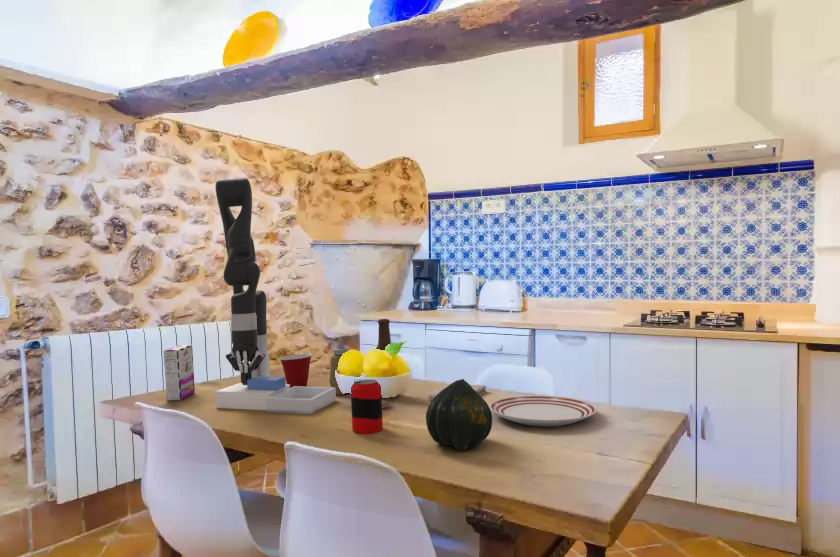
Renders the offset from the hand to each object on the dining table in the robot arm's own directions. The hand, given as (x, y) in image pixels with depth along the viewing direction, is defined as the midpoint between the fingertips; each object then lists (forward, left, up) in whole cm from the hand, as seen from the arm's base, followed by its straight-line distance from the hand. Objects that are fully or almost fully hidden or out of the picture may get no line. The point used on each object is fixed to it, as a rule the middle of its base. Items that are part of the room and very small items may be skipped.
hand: (246, 384), depth 174 cm
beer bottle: (-16, +39, -6) cm, 43 cm away
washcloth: (-19, +62, -7) cm, 65 cm away
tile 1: (0, +4, -1) cm, 4 cm away
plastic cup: (-19, +6, -6) cm, 21 cm away
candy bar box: (-5, -29, -6) cm, 30 cm away
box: (0, +19, -6) cm, 20 cm away
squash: (+26, +72, -6) cm, 77 cm away
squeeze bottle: (-18, +23, -6) cm, 30 cm away
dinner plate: (0, +88, -6) cm, 89 cm away
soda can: (+19, +47, -6) cm, 51 cm away
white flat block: (0, +2, -6) cm, 6 cm away
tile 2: (0, +9, -1) cm, 9 cm away
